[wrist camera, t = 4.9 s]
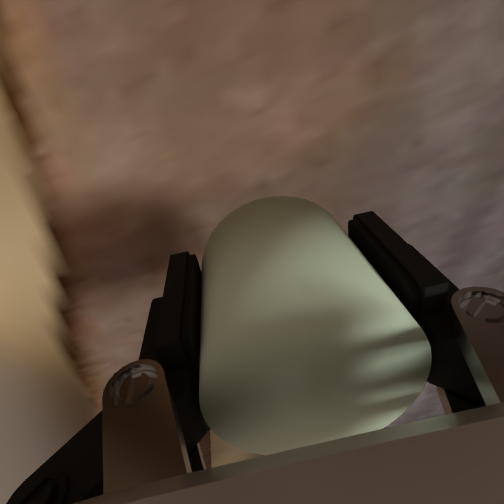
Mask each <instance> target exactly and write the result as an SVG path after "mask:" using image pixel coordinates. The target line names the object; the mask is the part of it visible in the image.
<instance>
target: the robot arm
mask: <svg viewBox="0 0 504 504" xmlns="http://www.w3.org/2000/svg"><path fill="white" fill-rule="evenodd" d="M348 236H349V237H350V239H351V240H352V241H353V242H354V244H355V245H356V246H357V247H358V249H359V250H360V251H361V253H362V254H363V255H364V256H365V258H366V259H367V260H368V261H369V263H370V264H371V265H372V266H373V268H374V269H375V270H376V271H377V273H378V274H379V275H380V276H381V278H382V279H383V280H384V282H385V283H386V284H387V285H388V287H389V288H390V289H391V290H392V292H393V293H394V294H395V295H396V297H397V298H398V299H399V300H400V302H401V303H402V304H403V306H404V307H405V308H406V309H407V311H408V312H409V313H410V314H411V316H412V317H413V318H414V319H415V321H416V322H417V323H418V324H419V326H420V327H421V328H422V330H423V331H424V333H425V335H426V336H427V338H428V341H429V344H430V347H431V354H432V360H431V369H430V373H429V376H428V379H427V381H428V382H429V383H431V384H433V385H436V386H437V391H438V394H439V397H440V400H441V403H442V406H443V409H444V412H445V415H443V416H438V417H434V418H429V419H425V420H420V421H416V422H411V423H407V424H402V425H398V426H393V427H389V428H384V429H380V430H375V431H371V432H366V433H362V434H357V435H353V436H349V437H344V438H340V439H335V440H331V441H326V442H322V443H318V444H313V445H309V446H304V447H300V448H295V449H291V450H287V451H282V452H278V453H274V454H269V455H265V456H260V457H256V458H252V459H247V460H243V461H239V462H234V463H230V464H226V465H221V466H217V467H213V468H208V469H206V466H205V462H204V459H203V455H202V452H201V448H200V445H199V441H200V440H201V439H202V438H203V437H204V435H205V434H206V433H207V431H208V430H211V429H210V427H209V426H208V425H207V423H206V421H205V420H204V418H203V415H202V412H201V409H200V403H199V372H200V323H201V274H202V273H201V270H200V267H199V263H198V260H197V257H196V255H195V254H193V255H190V254H189V252H188V251H187V252H182V253H178V254H173V255H170V260H169V265H168V271H167V276H166V282H165V287H164V293H163V297H160V298H155V299H153V300H152V303H151V307H150V312H149V316H148V321H147V325H146V330H145V334H144V339H143V343H142V348H141V352H140V357H139V360H137V361H134V362H131V363H129V364H127V365H125V366H124V367H122V368H121V369H119V370H118V371H117V372H116V373H114V375H113V376H112V377H111V378H110V379H109V381H108V382H107V384H106V386H105V388H104V390H103V395H102V411H101V412H100V413H99V414H98V415H97V416H96V417H94V418H93V419H92V420H91V421H90V422H89V423H88V424H87V425H86V426H84V427H83V428H82V429H81V430H80V431H79V432H78V433H77V434H76V435H75V436H73V437H72V438H71V439H70V440H69V441H68V442H67V443H66V444H65V445H64V446H62V447H61V448H60V449H59V450H58V451H57V452H56V453H55V454H54V455H53V456H51V457H50V458H49V460H47V461H46V462H45V463H44V464H43V465H41V466H40V468H38V469H37V470H36V471H35V472H34V473H33V474H32V475H30V476H29V477H28V478H27V479H26V480H25V481H24V482H23V483H22V484H21V485H20V486H19V487H18V488H17V490H16V491H15V492H14V493H13V495H12V496H11V498H10V499H9V500H8V502H7V503H6V504H504V292H502V291H499V290H496V289H492V288H487V287H467V288H463V289H461V290H459V289H458V288H457V287H456V286H455V285H454V284H453V283H452V282H451V281H450V280H449V279H447V278H446V277H445V276H444V275H443V274H442V273H441V272H440V271H439V270H438V269H437V268H436V267H434V266H433V265H432V264H431V263H430V262H429V261H428V260H427V259H426V258H425V257H424V256H423V255H421V254H420V253H419V252H418V251H417V250H416V249H415V248H414V247H413V246H411V245H410V244H407V243H406V242H405V241H404V240H403V239H402V238H401V237H400V236H399V235H398V234H397V233H396V232H395V231H393V230H392V229H391V228H390V227H389V226H388V225H387V224H386V223H385V222H384V221H383V220H382V219H381V218H380V217H378V216H377V215H376V214H375V213H374V212H373V211H370V212H365V213H361V214H356V215H354V217H353V220H349V222H348ZM427 381H426V382H427Z"/></svg>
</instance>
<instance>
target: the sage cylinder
mask: <svg viewBox="0 0 504 504" xmlns="http://www.w3.org/2000/svg"><path fill="white" fill-rule="evenodd" d="M431 360H432V354H431V347H430V344H429V341H428V338H427V336H426V335H425V333H424V331H423V330H422V328H421V327H420V326H419V324H418V323H417V322H416V321H415V319H414V318H413V317H412V316H411V314H410V313H409V312H408V311H407V309H406V308H405V307H404V306H403V304H402V303H401V302H400V300H399V299H398V298H397V297H396V295H395V294H394V293H393V292H392V290H391V289H390V288H389V287H388V285H387V284H386V283H385V282H384V280H383V279H382V278H381V276H380V275H379V274H378V273H377V271H376V270H375V269H374V268H373V266H372V265H371V264H370V263H369V261H368V260H367V259H366V258H365V256H364V255H363V254H362V253H361V251H360V250H359V249H358V247H357V246H356V245H355V244H354V242H353V241H352V240H351V239H350V237H349V236H348V235H347V234H346V232H345V231H344V230H343V229H342V227H341V226H340V225H339V224H338V222H337V221H336V220H335V219H334V218H333V216H332V215H331V214H330V213H329V212H327V211H326V210H325V209H323V208H322V207H320V206H319V205H317V204H315V203H313V202H310V201H308V200H305V199H301V198H297V197H289V196H274V197H267V198H262V199H259V200H255V201H252V202H250V203H247V204H245V205H243V206H241V207H239V208H238V209H236V210H234V211H233V212H231V213H230V214H229V215H227V216H226V217H225V218H224V219H223V220H222V221H221V222H220V223H219V224H218V225H217V226H216V228H215V229H214V230H213V232H212V233H211V235H210V237H209V238H208V240H207V243H206V245H205V248H204V252H203V256H202V274H201V323H200V372H199V403H200V409H201V412H202V415H203V418H204V420H205V421H206V423H207V425H208V426H209V427H210V429H211V430H212V431H213V432H214V433H215V434H216V435H217V436H218V437H220V438H221V439H222V440H224V441H225V442H227V443H229V444H230V445H232V446H234V447H237V448H239V449H241V450H245V451H248V452H251V453H255V454H260V455H269V454H274V453H278V452H282V451H287V450H291V449H295V448H300V447H304V446H309V445H313V444H318V443H322V442H326V441H331V440H335V439H340V438H344V437H349V436H353V435H357V434H362V433H366V432H371V431H375V430H380V429H383V428H384V427H386V426H387V425H389V424H390V423H391V422H393V421H394V420H395V419H397V418H398V417H399V416H400V415H401V414H402V413H404V412H405V411H406V410H407V409H408V407H409V406H410V405H411V404H412V403H413V402H414V401H415V399H416V398H417V397H418V396H419V394H420V392H421V391H422V389H423V387H424V386H425V383H426V381H427V379H428V376H429V373H430V369H431Z"/></svg>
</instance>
